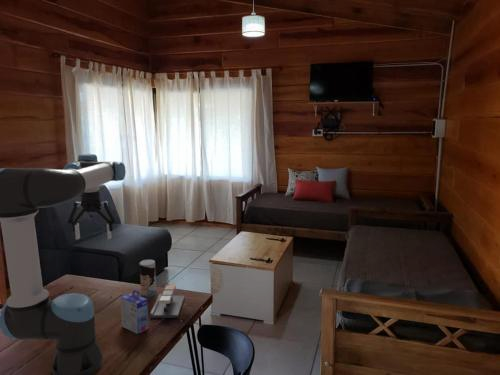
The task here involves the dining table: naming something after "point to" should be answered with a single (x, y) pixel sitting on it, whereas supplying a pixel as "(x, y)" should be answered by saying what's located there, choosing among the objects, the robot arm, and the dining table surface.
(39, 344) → the dining table surface
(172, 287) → the key terracotta
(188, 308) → the dining table surface
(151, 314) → the keypad board
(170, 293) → the key grey
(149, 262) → the printed cylindrical canister
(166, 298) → the key cream
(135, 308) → the ink cartridge box
